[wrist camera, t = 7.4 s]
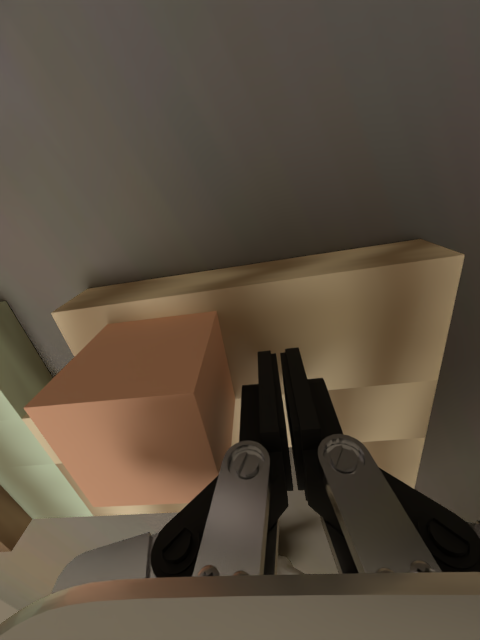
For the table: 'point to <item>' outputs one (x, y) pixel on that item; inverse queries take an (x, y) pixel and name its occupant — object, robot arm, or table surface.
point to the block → (142, 411)
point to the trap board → (256, 356)
